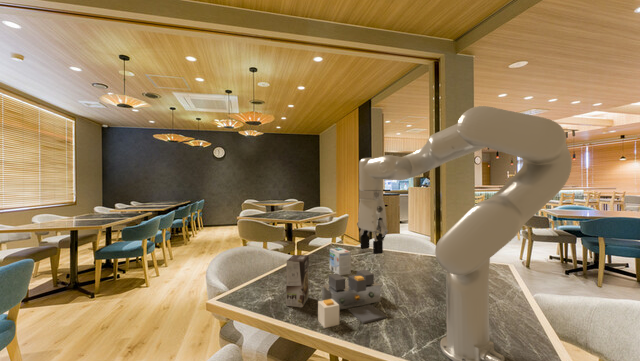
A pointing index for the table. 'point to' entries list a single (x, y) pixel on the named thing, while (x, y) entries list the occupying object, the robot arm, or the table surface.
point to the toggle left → (337, 282)
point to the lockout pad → (367, 313)
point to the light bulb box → (340, 261)
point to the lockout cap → (328, 313)
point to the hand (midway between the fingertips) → (371, 250)
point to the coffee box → (297, 280)
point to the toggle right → (366, 276)
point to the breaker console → (352, 295)
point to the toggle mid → (357, 283)
